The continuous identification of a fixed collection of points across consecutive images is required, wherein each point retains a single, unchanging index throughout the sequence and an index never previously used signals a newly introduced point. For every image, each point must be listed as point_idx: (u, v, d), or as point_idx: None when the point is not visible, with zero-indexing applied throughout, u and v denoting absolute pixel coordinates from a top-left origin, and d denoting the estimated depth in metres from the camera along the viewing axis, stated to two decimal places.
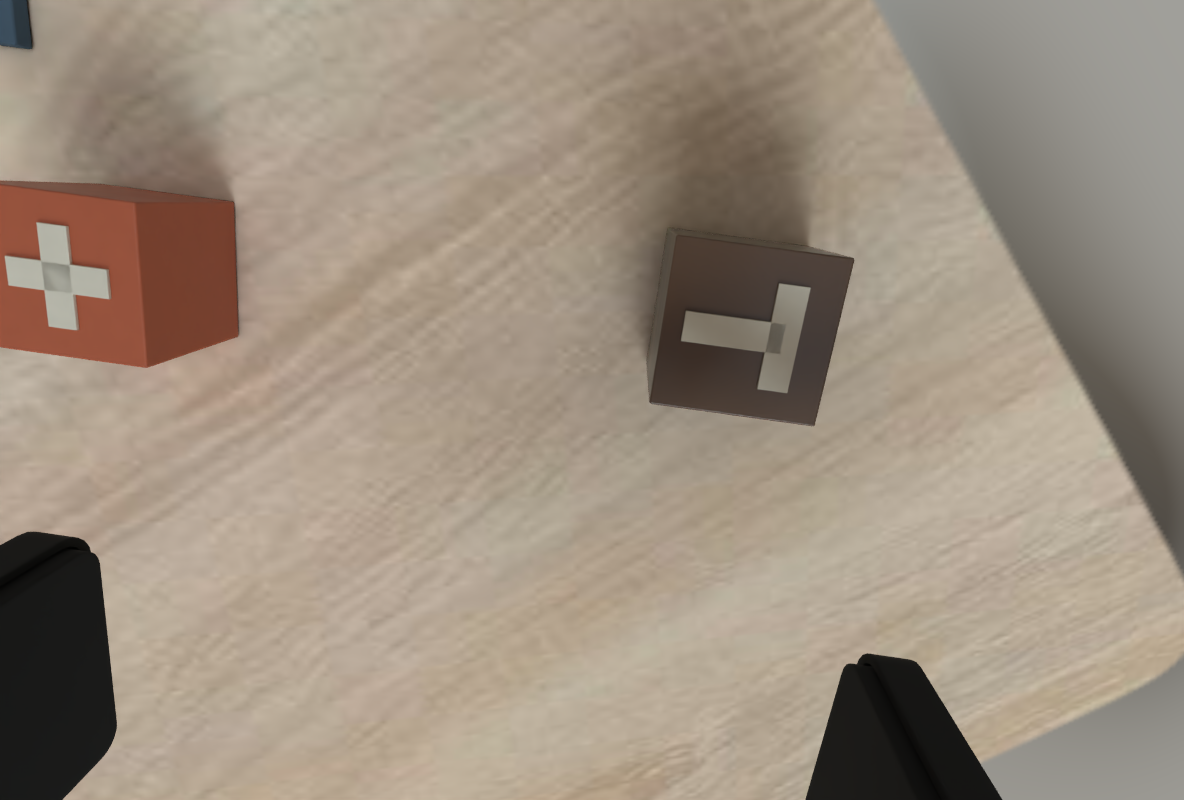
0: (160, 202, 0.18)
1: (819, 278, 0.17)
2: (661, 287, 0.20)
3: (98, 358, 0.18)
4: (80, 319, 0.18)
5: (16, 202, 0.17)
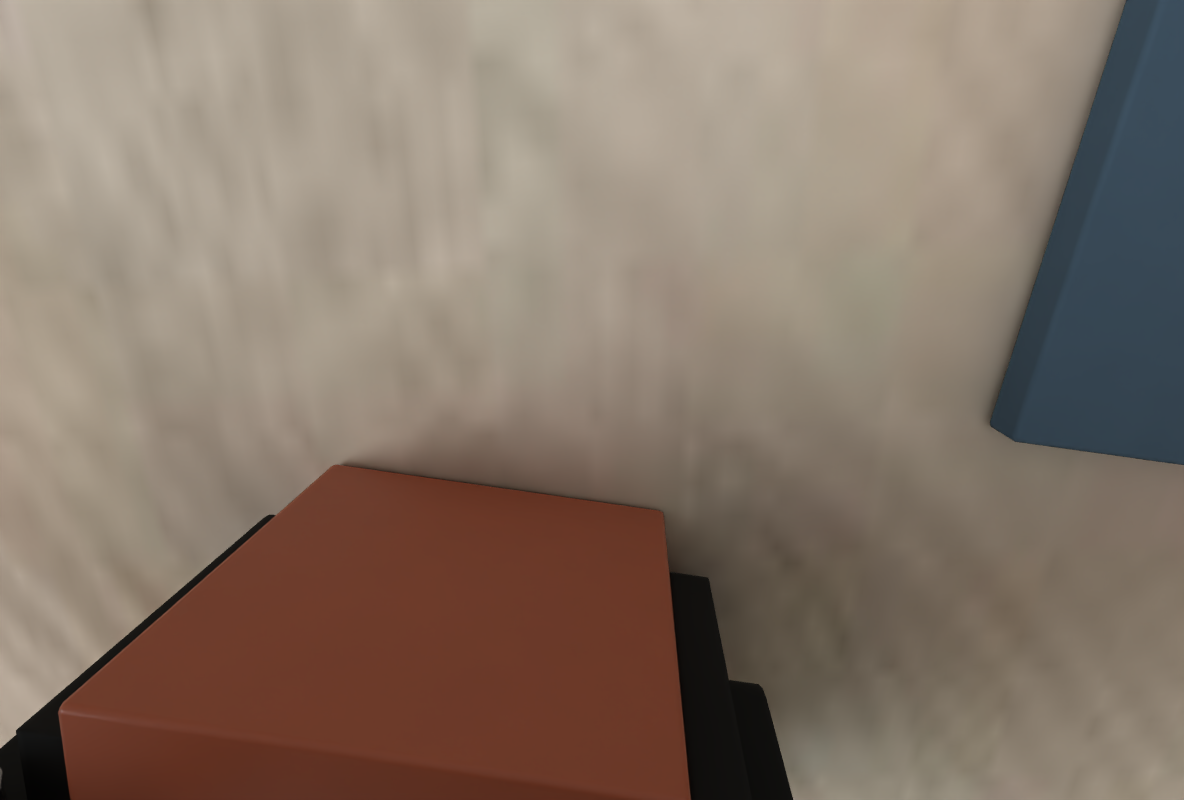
0: None
1: None
2: None
3: None
4: None
5: None
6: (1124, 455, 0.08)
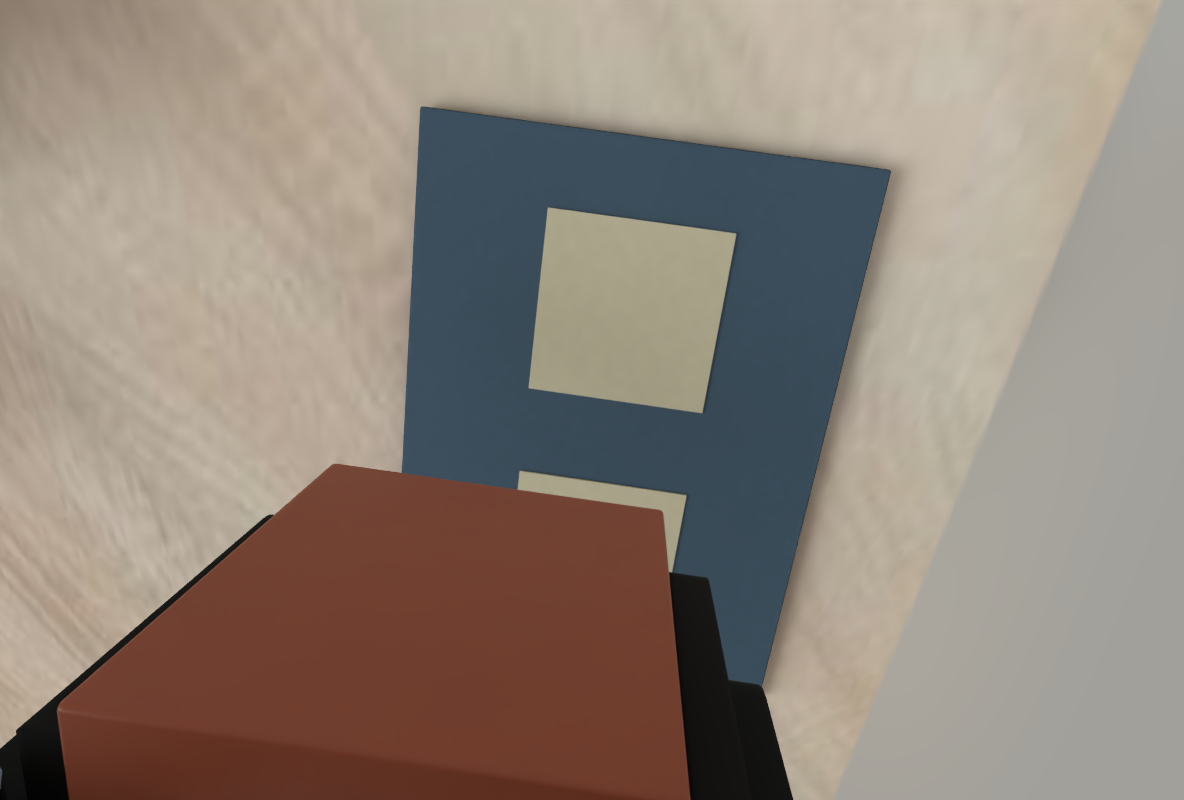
0: None
1: None
2: None
3: None
4: None
5: None
6: None
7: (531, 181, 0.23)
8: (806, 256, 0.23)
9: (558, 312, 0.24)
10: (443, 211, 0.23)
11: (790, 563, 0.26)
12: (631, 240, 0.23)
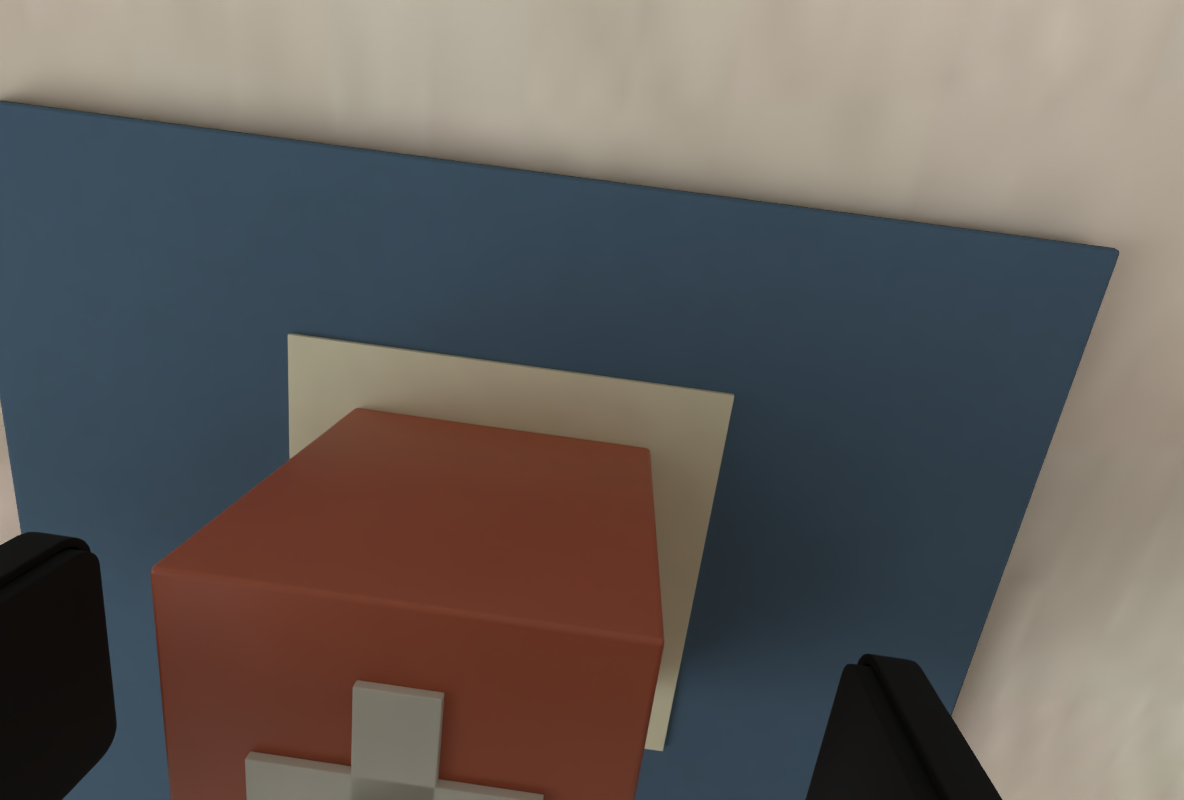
0: None
1: None
2: None
3: None
4: None
5: (597, 754, 0.06)
6: None
7: (244, 274, 0.10)
8: (898, 445, 0.10)
9: None
10: (52, 340, 0.10)
11: None
12: (491, 407, 0.10)
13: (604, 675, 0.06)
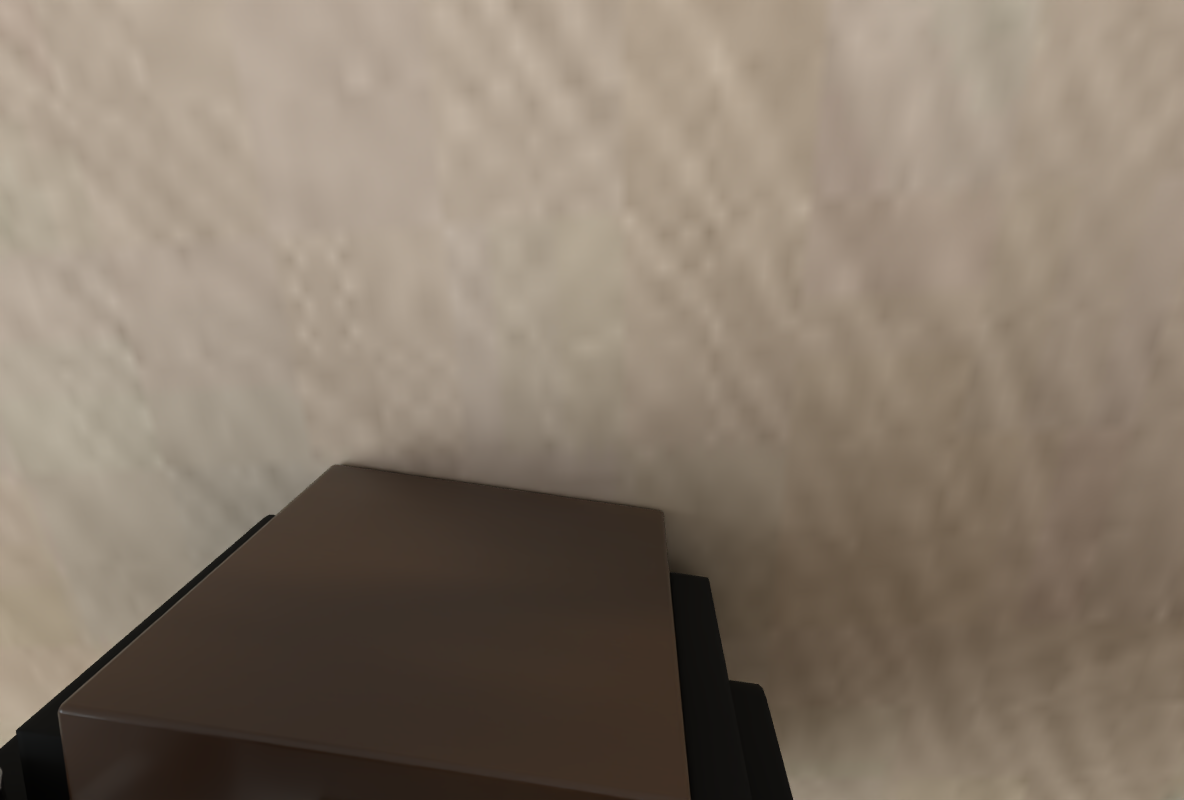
0: None
1: None
2: (517, 562, 0.07)
3: None
4: None
5: None
6: None
7: None
8: None
9: None
10: None
11: None
12: None
13: None
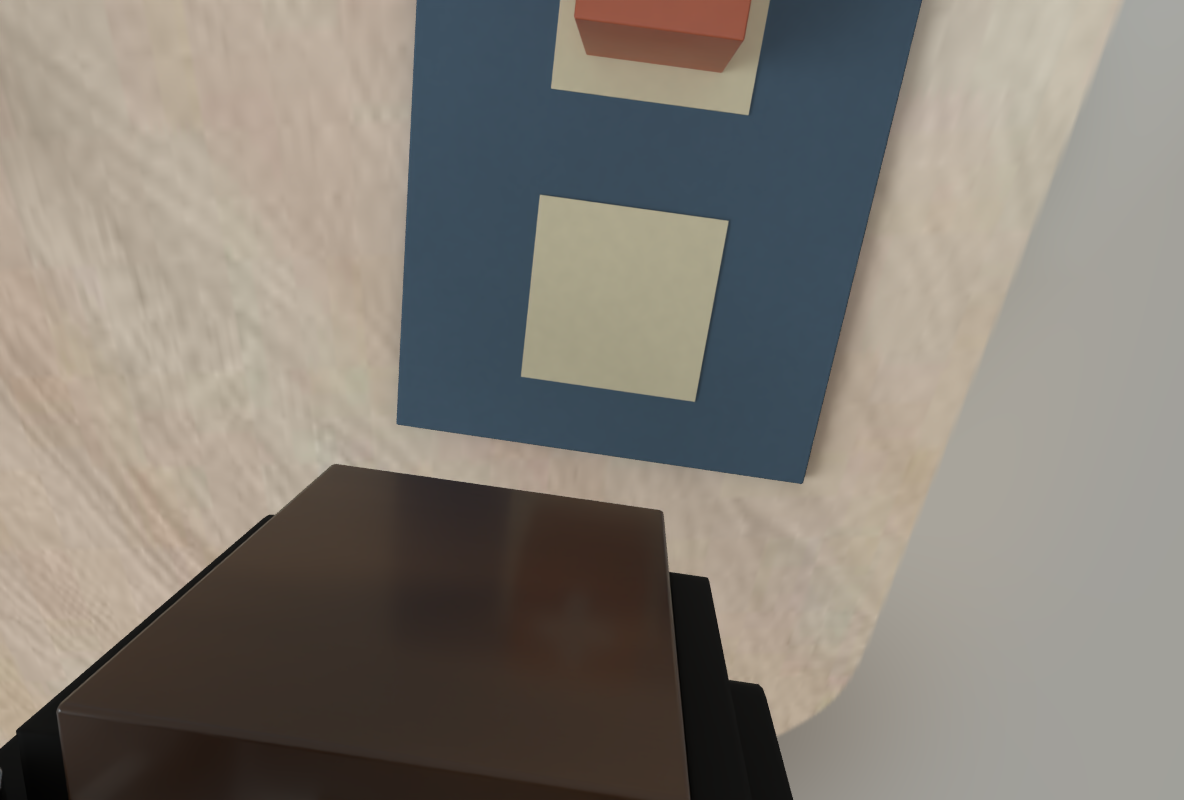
0: None
1: None
2: (517, 562, 0.07)
3: None
4: None
5: None
6: (428, 428, 0.26)
7: None
8: None
9: None
10: None
11: (844, 305, 0.23)
12: None
13: None
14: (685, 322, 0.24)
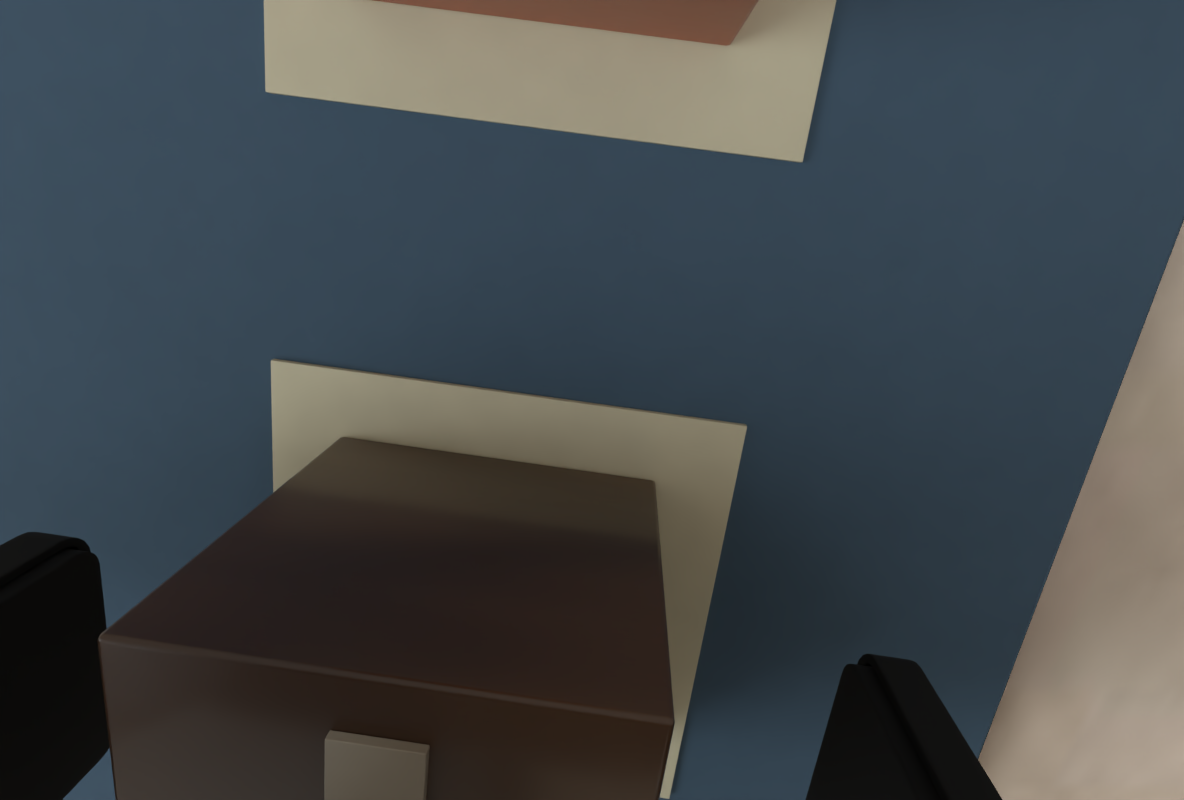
0: None
1: None
2: (516, 523, 0.08)
3: None
4: None
5: None
6: None
7: None
8: None
9: None
10: None
11: (1027, 615, 0.10)
12: None
13: None
14: None
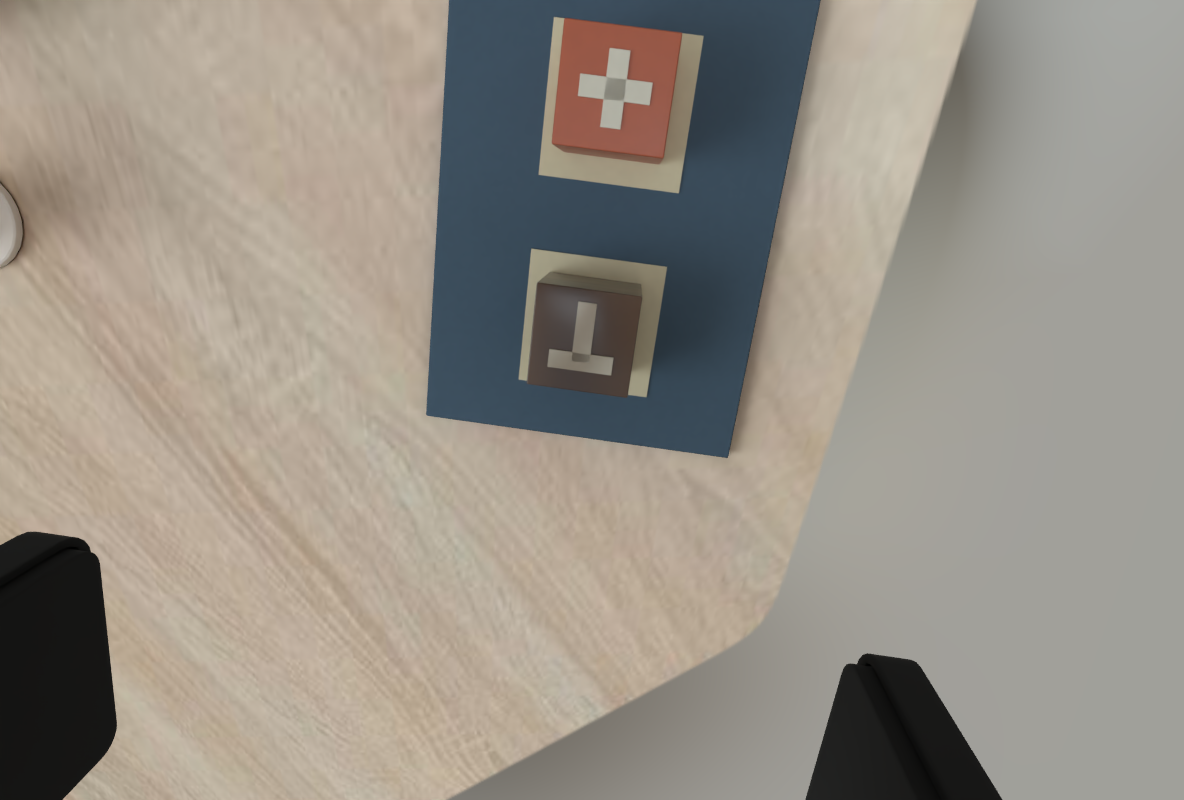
0: (662, 159, 0.27)
1: (616, 379, 0.29)
2: (605, 283, 0.30)
3: (557, 106, 0.26)
4: (585, 99, 0.26)
5: (666, 68, 0.25)
6: (450, 418, 0.35)
7: None
8: (759, 55, 0.29)
9: None
10: (470, 22, 0.29)
11: (752, 326, 0.32)
12: None
13: (668, 42, 0.25)
14: (638, 339, 0.33)
